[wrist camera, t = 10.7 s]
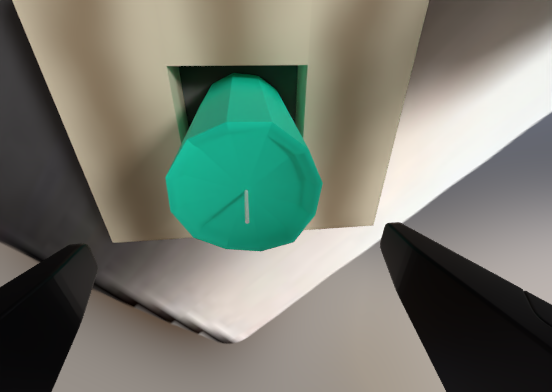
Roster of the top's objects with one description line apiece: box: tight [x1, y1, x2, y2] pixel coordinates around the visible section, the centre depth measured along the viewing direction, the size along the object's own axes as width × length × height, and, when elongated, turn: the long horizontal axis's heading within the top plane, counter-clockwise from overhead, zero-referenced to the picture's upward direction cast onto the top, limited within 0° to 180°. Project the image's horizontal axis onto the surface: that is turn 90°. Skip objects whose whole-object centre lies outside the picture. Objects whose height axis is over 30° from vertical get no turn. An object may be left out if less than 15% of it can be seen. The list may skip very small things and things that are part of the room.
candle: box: [165, 73, 323, 251], centre depth 14 cm, size 6×6×12 cm
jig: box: [12, 0, 429, 243], centre depth 18 cm, size 20×16×3 cm
